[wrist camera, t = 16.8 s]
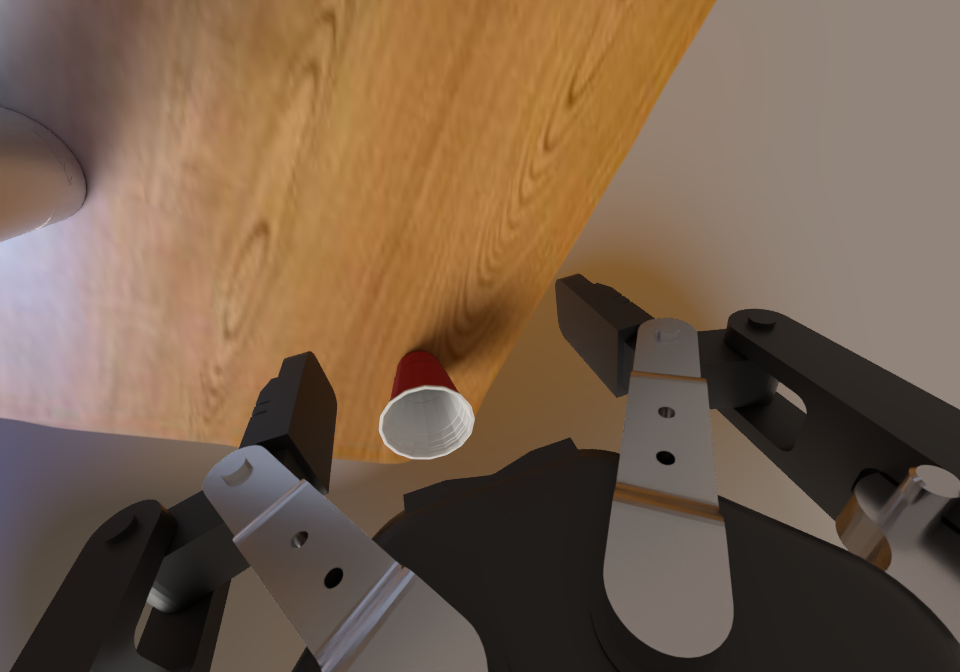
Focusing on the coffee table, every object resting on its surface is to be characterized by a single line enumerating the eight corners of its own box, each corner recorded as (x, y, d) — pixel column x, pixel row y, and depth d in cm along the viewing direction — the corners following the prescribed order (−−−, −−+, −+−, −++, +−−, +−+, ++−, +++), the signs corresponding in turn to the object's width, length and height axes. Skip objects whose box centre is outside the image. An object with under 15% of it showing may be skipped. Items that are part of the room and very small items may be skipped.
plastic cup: (389, 325, 48) (395, 381, 38) (466, 343, 52) (489, 398, 42) (366, 391, 52) (366, 457, 42) (439, 403, 57) (454, 465, 47)
